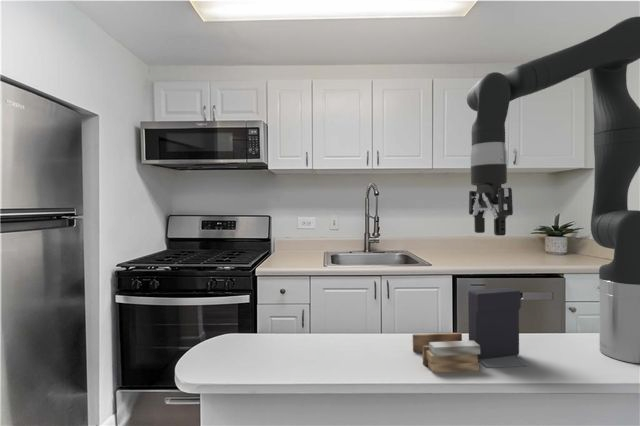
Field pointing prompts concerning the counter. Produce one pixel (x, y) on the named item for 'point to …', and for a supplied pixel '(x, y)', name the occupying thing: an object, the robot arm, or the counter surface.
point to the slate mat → (502, 362)
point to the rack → (423, 341)
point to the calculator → (494, 321)
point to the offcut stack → (453, 356)
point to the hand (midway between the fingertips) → (489, 234)
